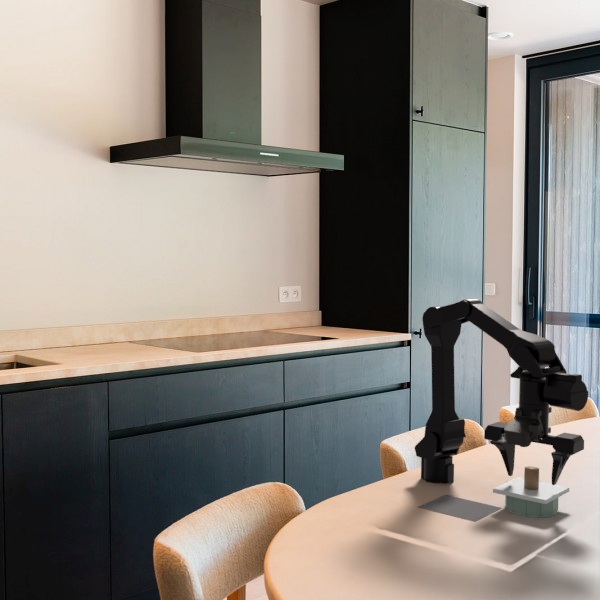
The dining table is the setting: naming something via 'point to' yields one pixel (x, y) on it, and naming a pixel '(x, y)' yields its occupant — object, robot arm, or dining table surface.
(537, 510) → the bowl
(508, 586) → the dining table surface
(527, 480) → the lid
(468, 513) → the mat
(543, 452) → the dining table surface
